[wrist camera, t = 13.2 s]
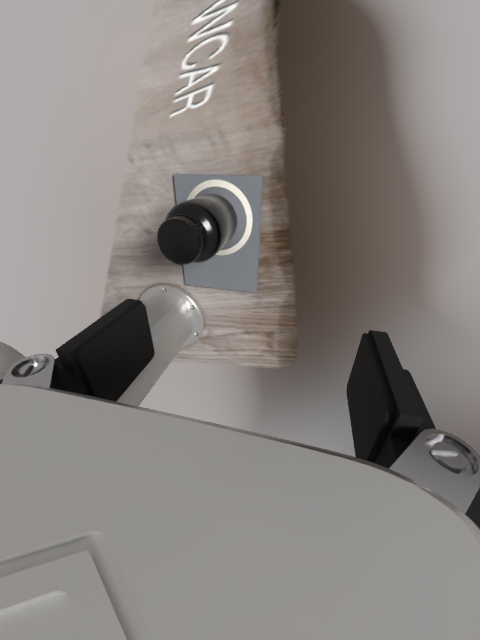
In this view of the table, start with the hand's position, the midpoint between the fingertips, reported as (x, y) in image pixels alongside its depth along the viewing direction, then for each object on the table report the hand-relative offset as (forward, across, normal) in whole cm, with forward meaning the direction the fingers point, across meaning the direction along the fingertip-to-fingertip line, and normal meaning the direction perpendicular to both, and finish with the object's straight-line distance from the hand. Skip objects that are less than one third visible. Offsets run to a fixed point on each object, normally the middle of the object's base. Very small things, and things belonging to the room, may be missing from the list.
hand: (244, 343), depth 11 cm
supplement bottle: (+28, +11, 0) cm, 30 cm away
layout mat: (+28, +10, +3) cm, 30 cm away
